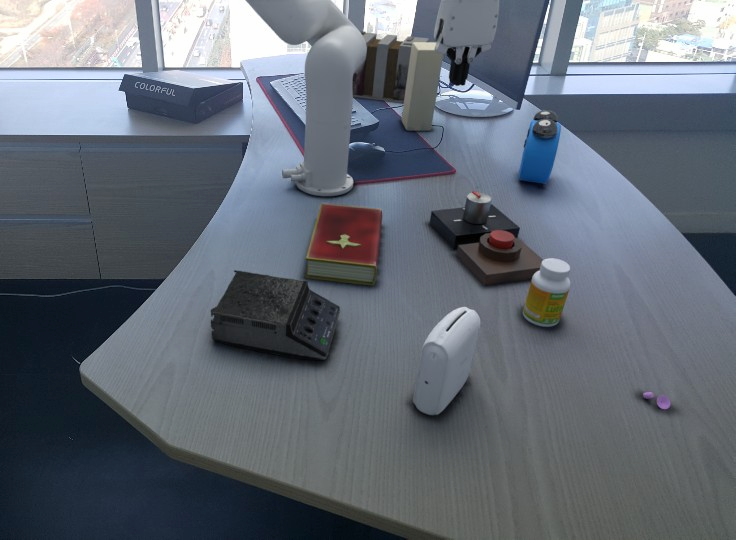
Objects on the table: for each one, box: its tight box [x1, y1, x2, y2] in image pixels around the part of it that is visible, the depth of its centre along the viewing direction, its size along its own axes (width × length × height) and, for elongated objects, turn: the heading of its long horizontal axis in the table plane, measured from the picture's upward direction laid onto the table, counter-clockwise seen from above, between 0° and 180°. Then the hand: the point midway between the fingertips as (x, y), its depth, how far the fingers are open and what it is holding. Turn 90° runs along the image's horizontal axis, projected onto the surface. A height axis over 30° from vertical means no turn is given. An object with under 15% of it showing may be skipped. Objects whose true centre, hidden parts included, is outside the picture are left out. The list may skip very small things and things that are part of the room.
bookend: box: [352, 30, 430, 104], centre depth 193 cm, size 16×25×16 cm, turn 68°
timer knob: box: [463, 190, 493, 224], centre depth 120 cm, size 4×4×5 cm
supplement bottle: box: [522, 257, 572, 328], centre depth 97 cm, size 5×5×10 cm
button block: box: [455, 233, 544, 286], centre depth 111 cm, size 12×10×4 cm
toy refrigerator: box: [401, 41, 445, 132], centre depth 166 cm, size 8×7×21 cm
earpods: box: [642, 391, 672, 410], centre depth 84 cm, size 3×2×2 cm
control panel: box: [428, 203, 521, 250], centre depth 122 cm, size 13×10×3 cm
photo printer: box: [412, 306, 482, 416], centre depth 82 cm, size 10×4×12 cm, turn 140°
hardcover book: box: [304, 202, 383, 287], centre depth 116 cm, size 12×21×4 cm, turn 168°
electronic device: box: [210, 269, 341, 361], centre depth 95 cm, size 12×17×6 cm
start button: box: [489, 230, 514, 249], centre depth 111 cm, size 4×4×2 cm
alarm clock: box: [517, 108, 562, 189], centre depth 139 cm, size 13×6×15 cm, turn 158°
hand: (456, 83), depth 119 cm, fingers closed
